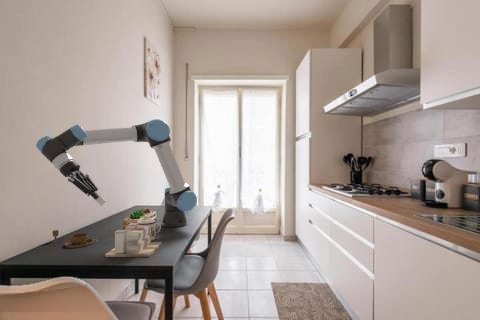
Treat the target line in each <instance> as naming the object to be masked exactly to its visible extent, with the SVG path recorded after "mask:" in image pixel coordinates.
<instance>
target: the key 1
mask: <svg viewBox="0 0 480 320" xmlns="http://www.w3.org/2000/svg"><path fill="white" fill-rule="evenodd" d="M114 248H115V253H124V252H126V251H127V230H125V229H117V230H115V231H114Z"/></svg>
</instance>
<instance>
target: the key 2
mask: <svg viewBox="0 0 480 320" xmlns="http://www.w3.org/2000/svg"><path fill="white" fill-rule="evenodd" d="M138 225H139V223H137V222H130V223H128V224H127V227H128V226H136V229H137V228H138Z"/></svg>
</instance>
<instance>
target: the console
mask: <svg viewBox="0 0 480 320" xmlns="http://www.w3.org/2000/svg"><path fill="white" fill-rule="evenodd" d="M161 246H162V241H159V242H158V241H157V242H154V241H153V242H152V241H151V225H142V226H140V227H139V228H137V229H135V230H134V231H132V232H131V233H129V234H127V251H126V252H124V253H115V247H114V248H112V249H111V250H109V251H108V252H106V253H105V254H104V255H105V257H106V258H109V257H111V258H122V257H123V258H133V257H134V258H137V257H138V258H139V257H140V258H144V257H145V258H149V257H151V256H152V255H153V254H154V253H155V252H156V251H157V250H158V249H159V248H160V247H161Z"/></svg>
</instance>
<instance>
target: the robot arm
mask: <svg viewBox="0 0 480 320" xmlns="http://www.w3.org/2000/svg"><path fill="white" fill-rule="evenodd" d="M170 134H171V128H170V125H169V124H168V123H167V122H166V121H164V120H163V119H158V118H156V119H151V120H149V121H146V122H144V123H141V124H140V123H139V124H137V125H134V124H133V125H132V126H130V127H118V128H117V127H116V128H115V127H114V128H104V129H103V128H101V129H89V130H88V129H87V130H84V128H83V127H82V126H81V125H79V124H74V125H73V126H71V127H70V128H68V129H66V130H65V131H63V132H62V133H60V134H59V135H57V136H55V137H53V136H51V135H46V136H42V137H41V138H40V139H38V140H37V142H36V144H35V146H36V148H37V150H38V151H39V152H40V153H41V154H42V156H44V157H45V158H46V159H47V160H48V161H49V162H50V163H51V165H53V166H54V168H55V169H57V171H59V173H60V174H61V175H62V176H63V177H64V178H67V181H68V182H70V183H72V184H73V185H74V186H75V187H76V188H77V189H79V190H80V191H81V192H83V193H84V194H85V195H86V196H87V197H92V198H93V200H95V202H96V203H97V204H98V205H99V206H104V205H105V203H106V202H107V200H106V199H105V198H104V196H102V195H101V194H100V193H99V192H98V191H99V188H98V187H97V186H96V183H94V181H93V180H92V179H91V178H90V175H89V174H84V173H83V172H82V171H80V169H81V165H80V164H79V163H78V162H77V161H76V160H75V159H74V158H73V157H72V156H71V155H70V154H69V152H67V151H69V150H70V149H73V147H79V146H90V145H100V144H112V143H122V142H134V143H148V144H149V147H150V148H151V149H153V150H154V151H155V154H156V157H157V158H158V161H159V163H160V166H161V168H162V171H163V173H164V176H165V178H166V180H167V181H166V182H167V183H168V185H169V187H166V188H165V189H164V214H163V217H162V219H161V227H164V228H179V227H180V228H181V227H185V226H187V225H188V219H187V216H186V214H185V212H190V211H192V210H193V209H194V208H195V207H196V206H197V202H198V197H197V195H196V194H195V192H194V191H192V190H191V187H190V184H188V183H186V182H185V180H184V177H183V174H182V171H181V170H180V167H179V164H178V162H177V159H176V157H175V154H174V152H173V149H172V146H171V143H172V140H171V137H170Z"/></svg>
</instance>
